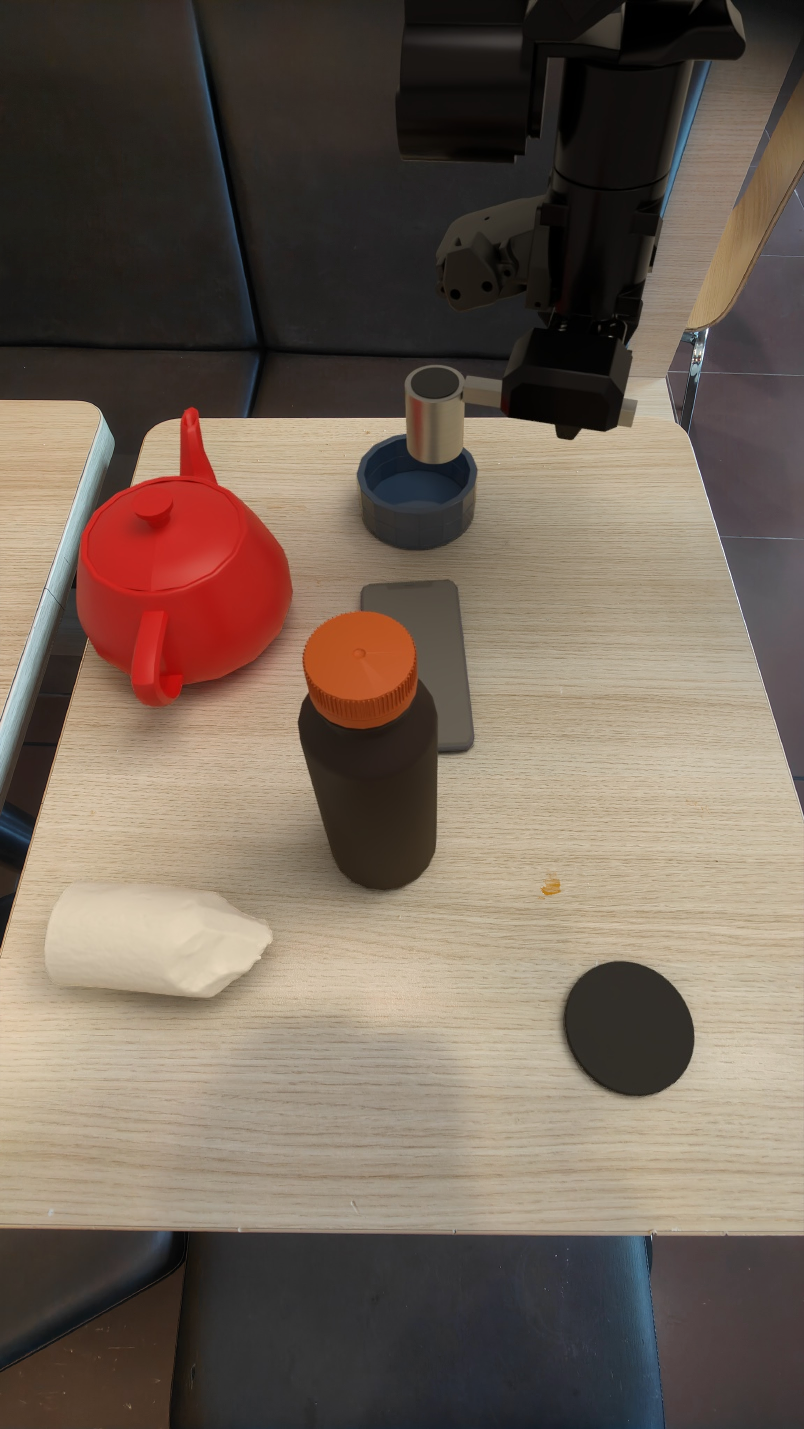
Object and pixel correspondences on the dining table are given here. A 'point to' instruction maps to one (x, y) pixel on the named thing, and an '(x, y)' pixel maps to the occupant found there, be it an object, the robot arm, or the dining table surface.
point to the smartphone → (432, 648)
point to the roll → (150, 939)
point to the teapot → (180, 578)
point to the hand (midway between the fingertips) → (567, 430)
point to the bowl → (415, 496)
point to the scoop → (453, 410)
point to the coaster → (629, 1028)
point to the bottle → (371, 748)
